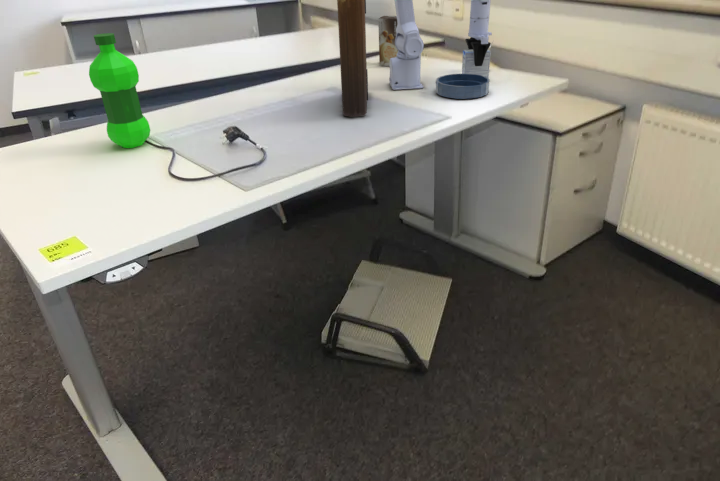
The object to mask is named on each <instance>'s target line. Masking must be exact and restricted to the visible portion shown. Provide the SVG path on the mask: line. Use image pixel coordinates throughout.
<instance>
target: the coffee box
mask: <svg viewBox="0 0 720 481" xmlns="http://www.w3.org/2000/svg"><path fill="white" fill-rule="evenodd" d="M377 20H378V21H377V22H378V23H377V24H378V55H379V56H378V58H379V59H378V63H379V66H380V67H390V58H395V57H397V53H398V50H397V48H396V46H395V39H396V28H397V25H398V22H397V15H382V16H379V18H377Z"/></svg>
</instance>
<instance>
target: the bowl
mask: <svg viewBox="0 0 720 481" xmlns="http://www.w3.org/2000/svg"><path fill="white" fill-rule="evenodd" d="M489 89H490V78H489V79H488V78H487V77H484V76H481V75H476V74H462V73H449V74H444V75H441V76H439V77H437V78H436V80H435V93H436V94H437V95H439V96H441V97H444V98H449V99H456V100H471V99H478V98H481V97H483V96H486V95H488V94H489V91H490V90H489Z"/></svg>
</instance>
